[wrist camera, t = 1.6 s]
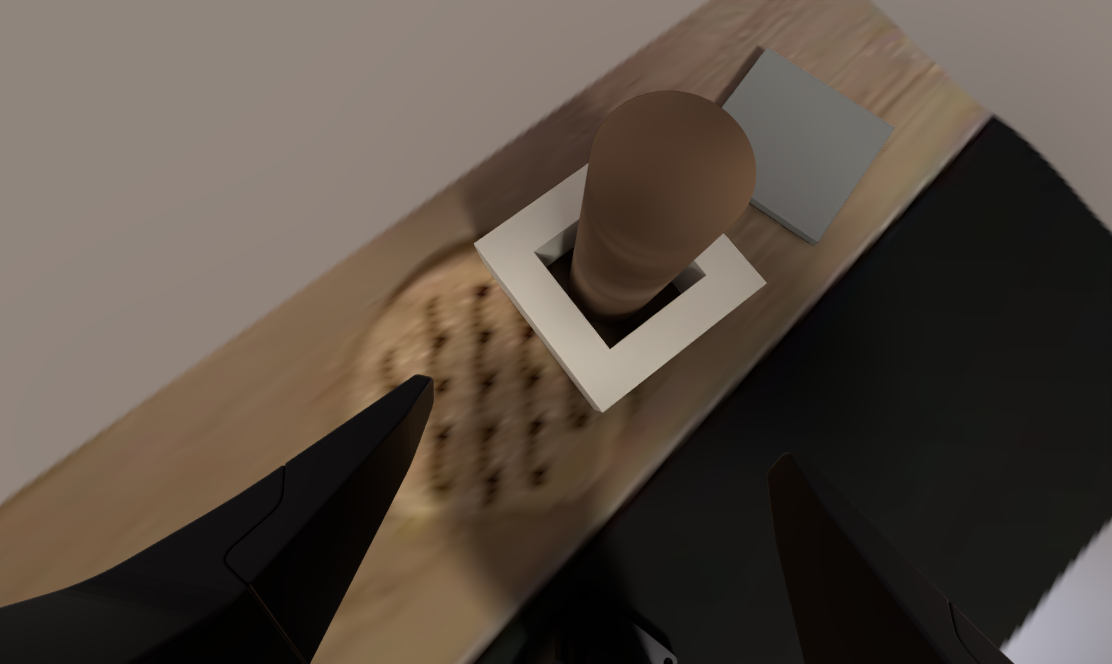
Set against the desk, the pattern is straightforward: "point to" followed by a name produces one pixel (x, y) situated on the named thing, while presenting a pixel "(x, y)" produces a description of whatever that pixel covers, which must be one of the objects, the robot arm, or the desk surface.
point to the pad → (803, 143)
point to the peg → (655, 198)
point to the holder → (587, 360)
